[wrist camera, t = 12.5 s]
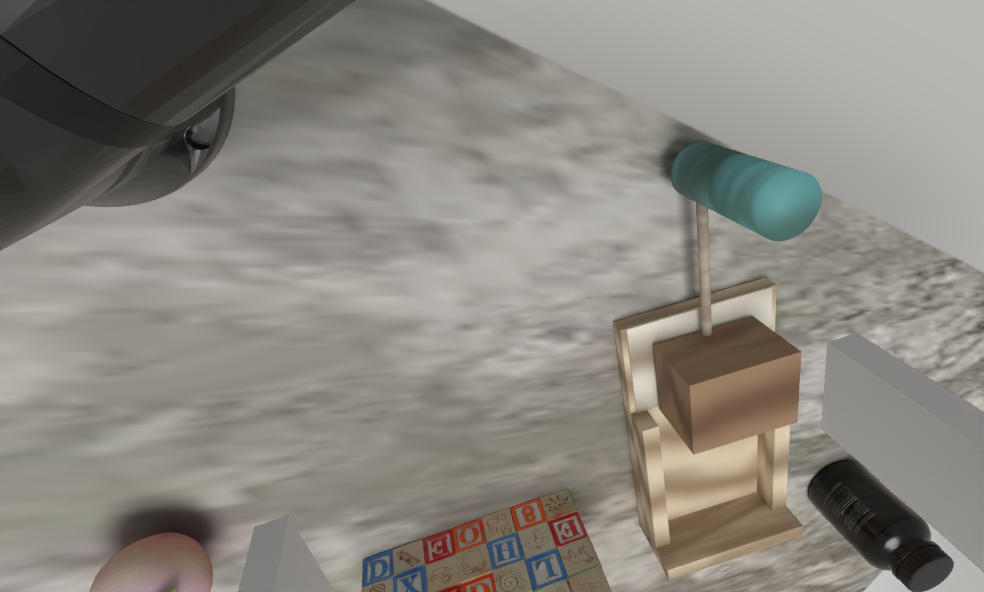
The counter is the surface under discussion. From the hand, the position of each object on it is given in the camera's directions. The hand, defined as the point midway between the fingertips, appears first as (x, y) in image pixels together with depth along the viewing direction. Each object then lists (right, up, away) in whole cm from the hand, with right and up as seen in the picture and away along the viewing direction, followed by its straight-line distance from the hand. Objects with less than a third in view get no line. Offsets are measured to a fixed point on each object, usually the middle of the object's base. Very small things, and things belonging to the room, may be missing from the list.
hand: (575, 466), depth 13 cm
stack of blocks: (-4, -21, +42) cm, 47 cm away
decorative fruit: (-30, -17, +34) cm, 49 cm away
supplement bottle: (+37, -17, +48) cm, 63 cm away
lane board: (+18, -8, +39) cm, 44 cm away
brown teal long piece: (+15, +5, +31) cm, 34 cm away
